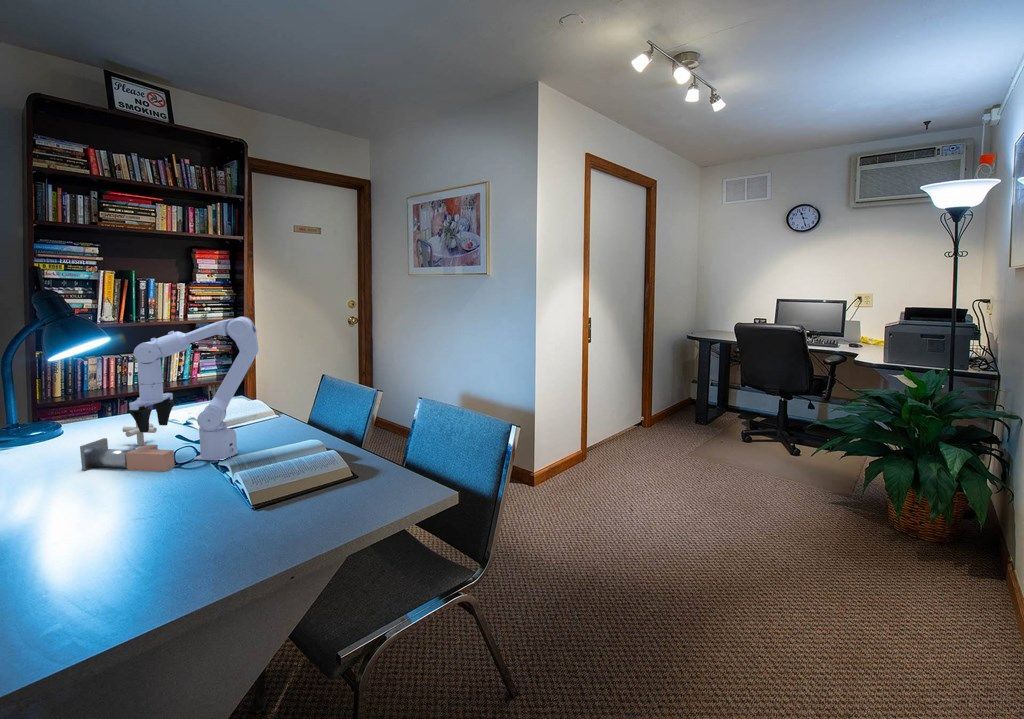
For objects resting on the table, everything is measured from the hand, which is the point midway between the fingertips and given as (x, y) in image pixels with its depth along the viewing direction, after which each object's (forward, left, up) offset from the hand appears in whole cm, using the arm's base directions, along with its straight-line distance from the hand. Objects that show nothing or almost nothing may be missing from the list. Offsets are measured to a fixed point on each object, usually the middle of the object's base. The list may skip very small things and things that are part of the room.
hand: (154, 428), depth 154 cm
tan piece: (-3, +4, -10) cm, 11 cm away
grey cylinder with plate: (+8, +6, -10) cm, 14 cm away
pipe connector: (+16, -14, -10) cm, 24 cm away
